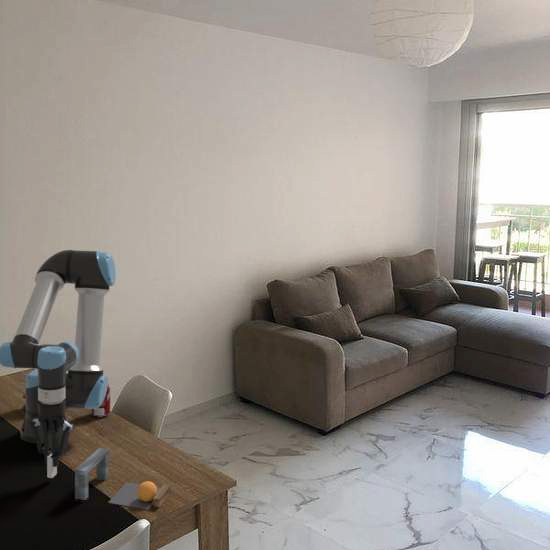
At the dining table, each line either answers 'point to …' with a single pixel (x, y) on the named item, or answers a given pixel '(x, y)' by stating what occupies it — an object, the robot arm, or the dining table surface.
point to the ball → (147, 491)
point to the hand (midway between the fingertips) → (52, 475)
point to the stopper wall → (161, 496)
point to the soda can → (103, 406)
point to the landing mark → (131, 497)
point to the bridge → (82, 472)
